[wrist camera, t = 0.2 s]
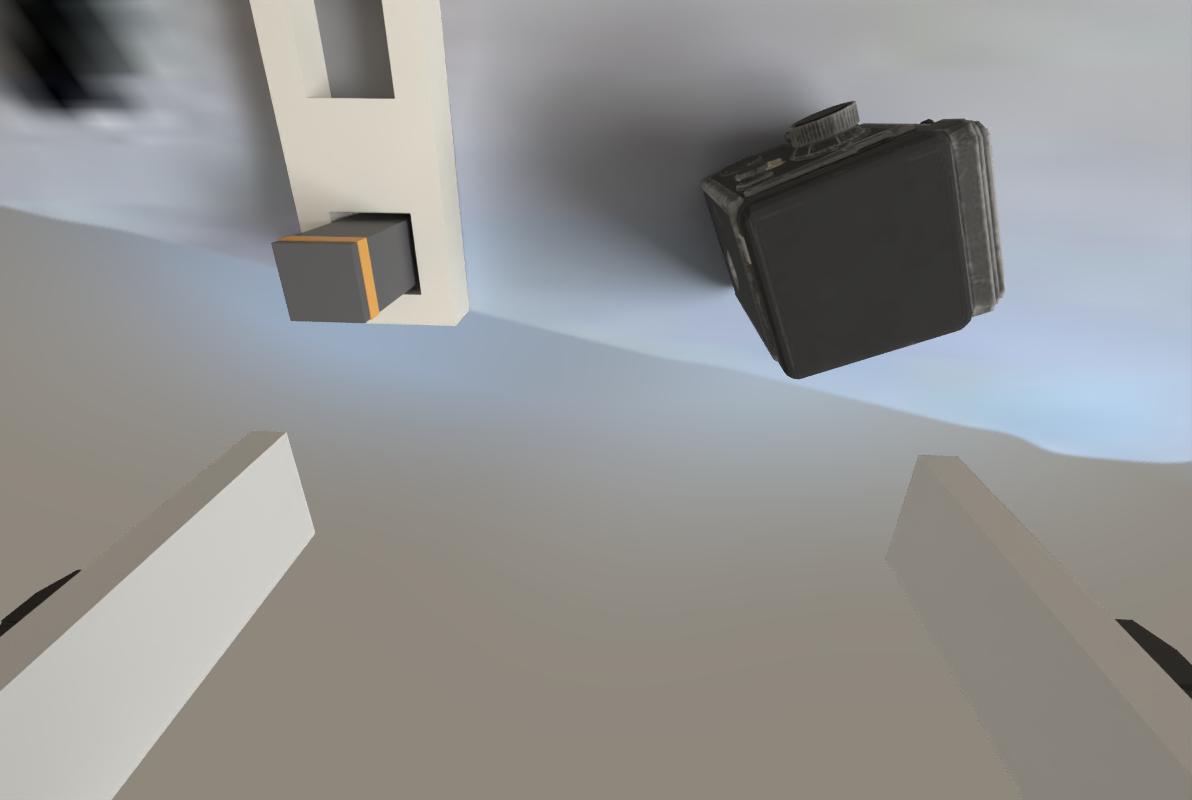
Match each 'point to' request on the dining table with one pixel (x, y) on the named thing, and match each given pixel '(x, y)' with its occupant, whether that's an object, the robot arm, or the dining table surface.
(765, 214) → the camera
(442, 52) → the battery charger
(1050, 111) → the dining table surface
